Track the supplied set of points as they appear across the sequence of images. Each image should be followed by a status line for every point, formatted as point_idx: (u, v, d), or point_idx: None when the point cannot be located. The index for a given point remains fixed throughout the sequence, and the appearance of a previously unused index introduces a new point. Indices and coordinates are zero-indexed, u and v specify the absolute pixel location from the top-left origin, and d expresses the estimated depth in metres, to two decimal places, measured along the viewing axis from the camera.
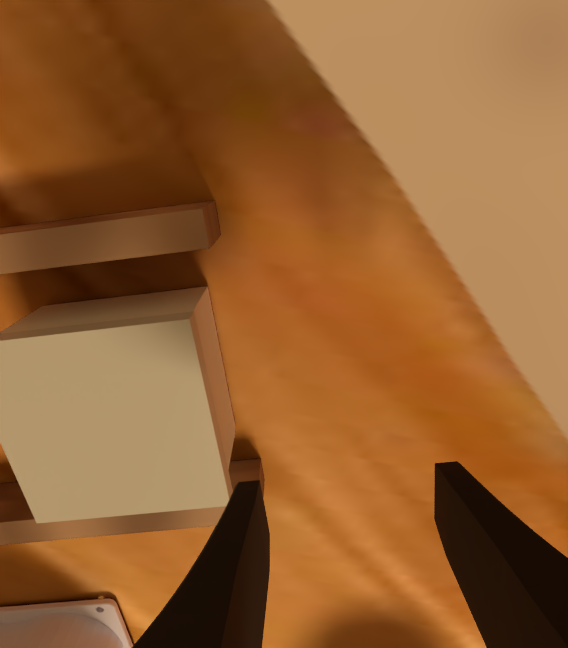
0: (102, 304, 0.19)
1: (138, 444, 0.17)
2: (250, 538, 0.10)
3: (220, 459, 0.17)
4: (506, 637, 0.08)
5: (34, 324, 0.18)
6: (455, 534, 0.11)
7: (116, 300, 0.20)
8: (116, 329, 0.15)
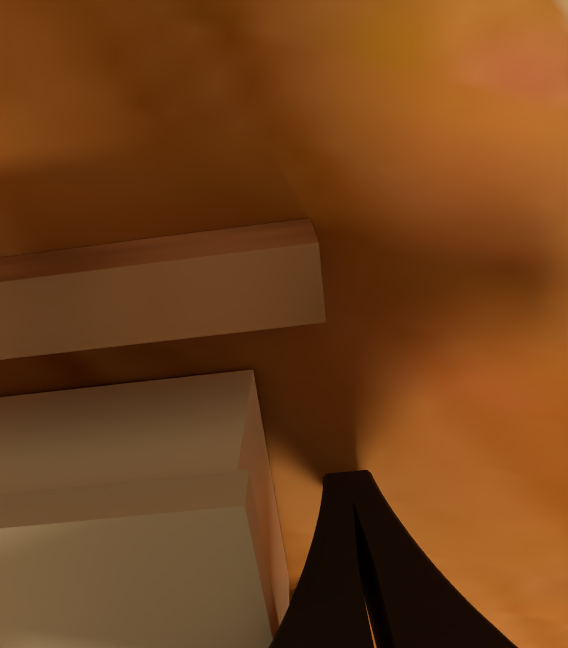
0: (68, 407, 0.11)
1: None
2: None
3: None
4: (383, 646, 0.09)
5: None
6: (357, 542, 0.11)
7: (94, 397, 0.11)
8: (80, 525, 0.07)
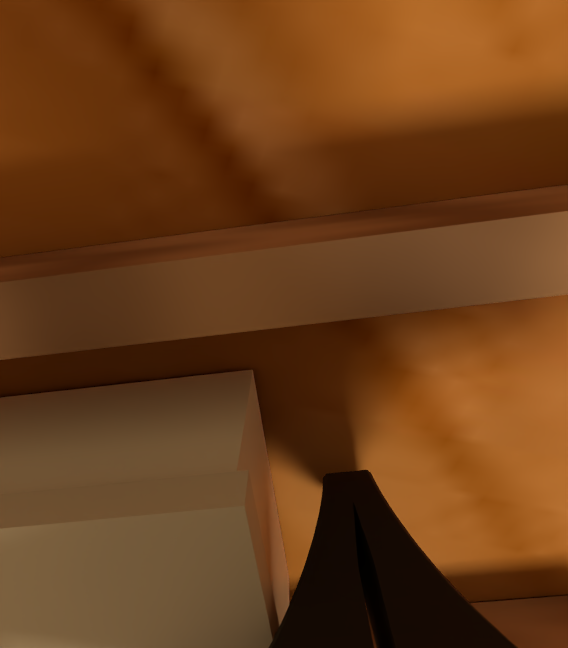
0: (68, 407, 0.11)
1: None
2: None
3: None
4: (383, 646, 0.09)
5: None
6: (357, 542, 0.11)
7: (94, 397, 0.11)
8: (80, 525, 0.07)
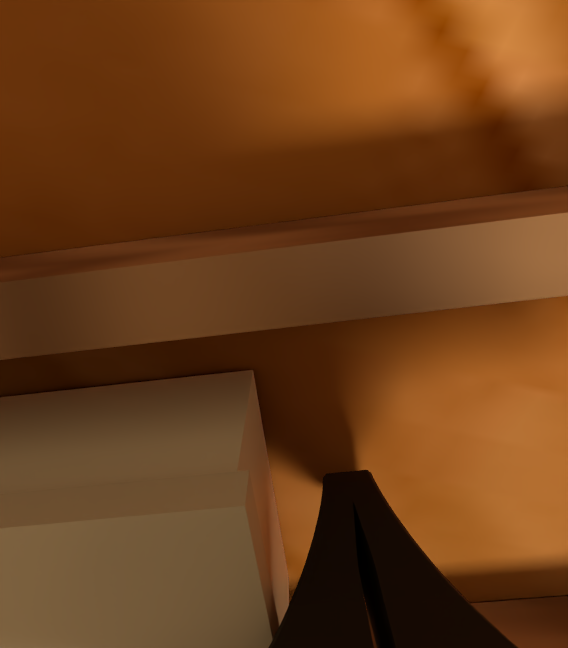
0: (68, 407, 0.11)
1: None
2: None
3: None
4: (383, 646, 0.09)
5: None
6: (357, 542, 0.11)
7: (94, 397, 0.11)
8: (81, 525, 0.07)
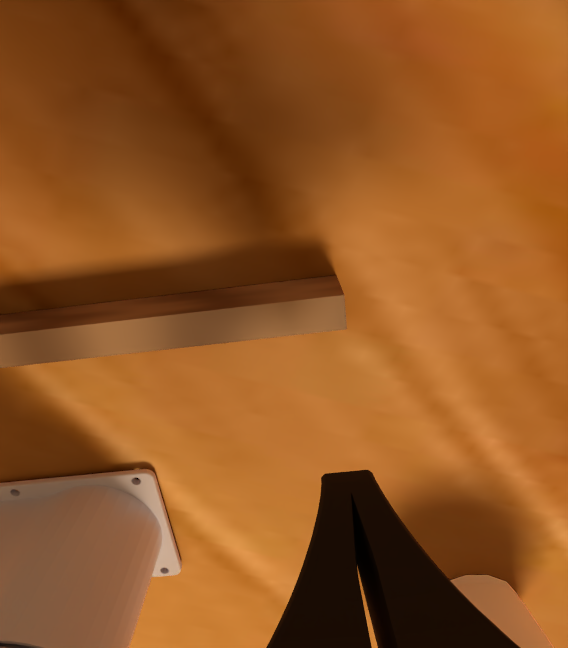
0: None
1: None
2: (353, 529, 0.10)
3: None
4: (384, 646, 0.09)
5: None
6: (358, 542, 0.11)
7: None
8: None
